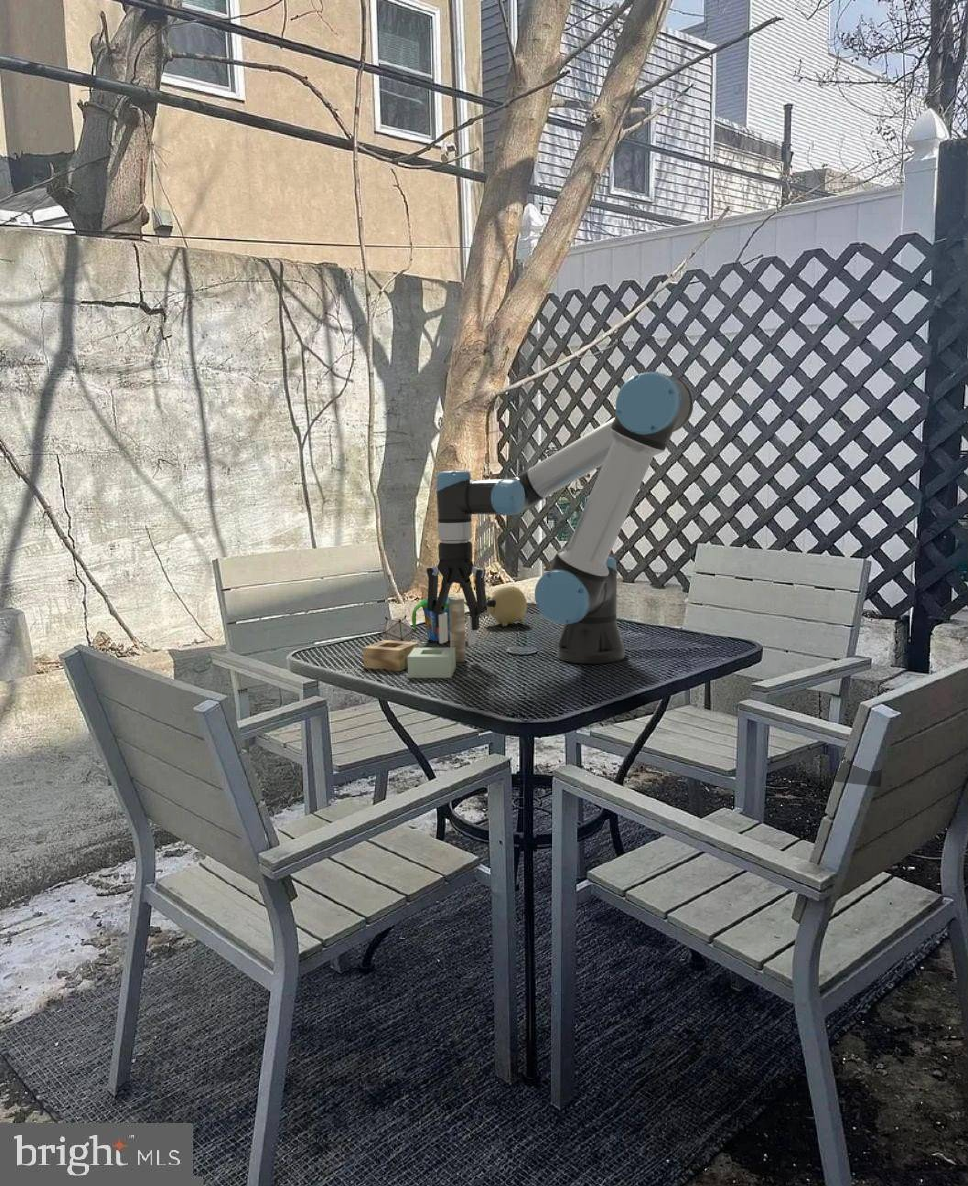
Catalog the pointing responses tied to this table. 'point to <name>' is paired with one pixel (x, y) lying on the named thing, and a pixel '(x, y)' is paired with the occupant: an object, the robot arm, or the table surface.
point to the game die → (397, 630)
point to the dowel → (457, 628)
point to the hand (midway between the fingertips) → (457, 643)
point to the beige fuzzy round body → (507, 605)
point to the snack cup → (432, 619)
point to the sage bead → (431, 663)
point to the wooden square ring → (388, 654)
